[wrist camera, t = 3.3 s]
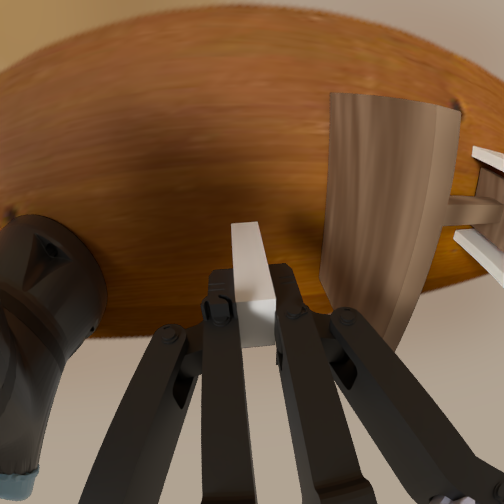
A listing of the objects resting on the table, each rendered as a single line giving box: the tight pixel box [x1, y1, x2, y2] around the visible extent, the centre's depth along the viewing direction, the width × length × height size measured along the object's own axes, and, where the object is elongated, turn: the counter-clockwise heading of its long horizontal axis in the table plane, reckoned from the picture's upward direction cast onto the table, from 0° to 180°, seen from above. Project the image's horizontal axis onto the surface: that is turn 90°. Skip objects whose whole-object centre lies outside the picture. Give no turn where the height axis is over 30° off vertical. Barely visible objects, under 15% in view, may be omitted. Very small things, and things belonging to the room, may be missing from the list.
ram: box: [319, 93, 504, 352], centre depth 18 cm, size 20×17×12 cm
